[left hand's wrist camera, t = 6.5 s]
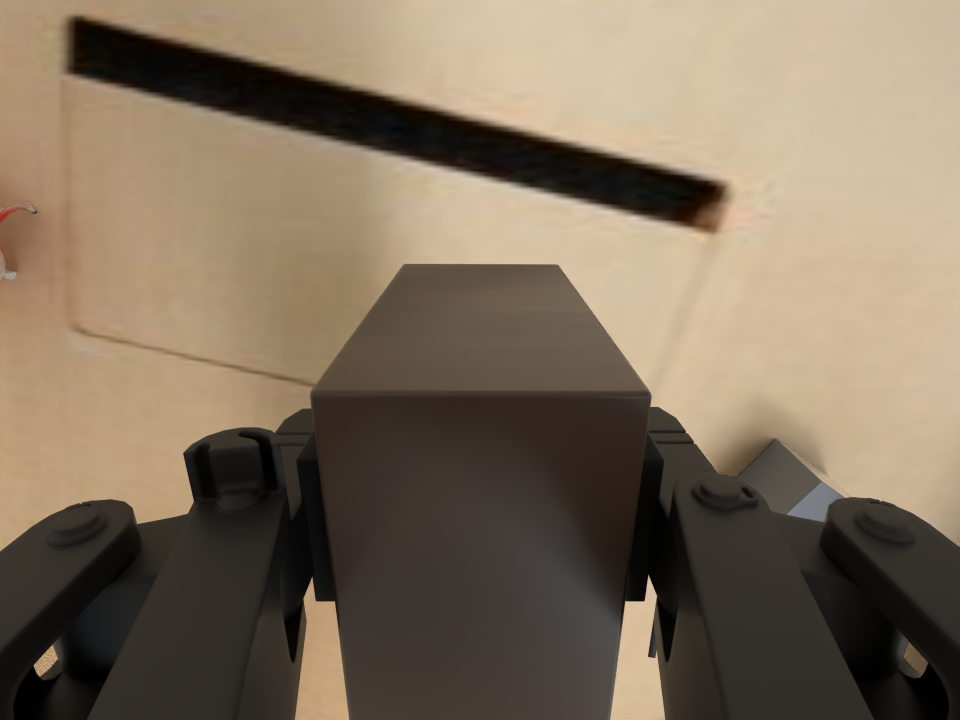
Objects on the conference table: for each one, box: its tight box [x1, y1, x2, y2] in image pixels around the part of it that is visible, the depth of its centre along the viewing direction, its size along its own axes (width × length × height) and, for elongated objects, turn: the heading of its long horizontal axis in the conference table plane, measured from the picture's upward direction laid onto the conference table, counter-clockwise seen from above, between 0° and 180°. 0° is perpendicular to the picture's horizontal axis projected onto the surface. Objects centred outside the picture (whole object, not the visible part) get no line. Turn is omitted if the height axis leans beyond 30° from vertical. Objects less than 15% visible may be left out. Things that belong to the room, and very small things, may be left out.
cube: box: [736, 439, 851, 522], centre depth 31 cm, size 4×4×4 cm
